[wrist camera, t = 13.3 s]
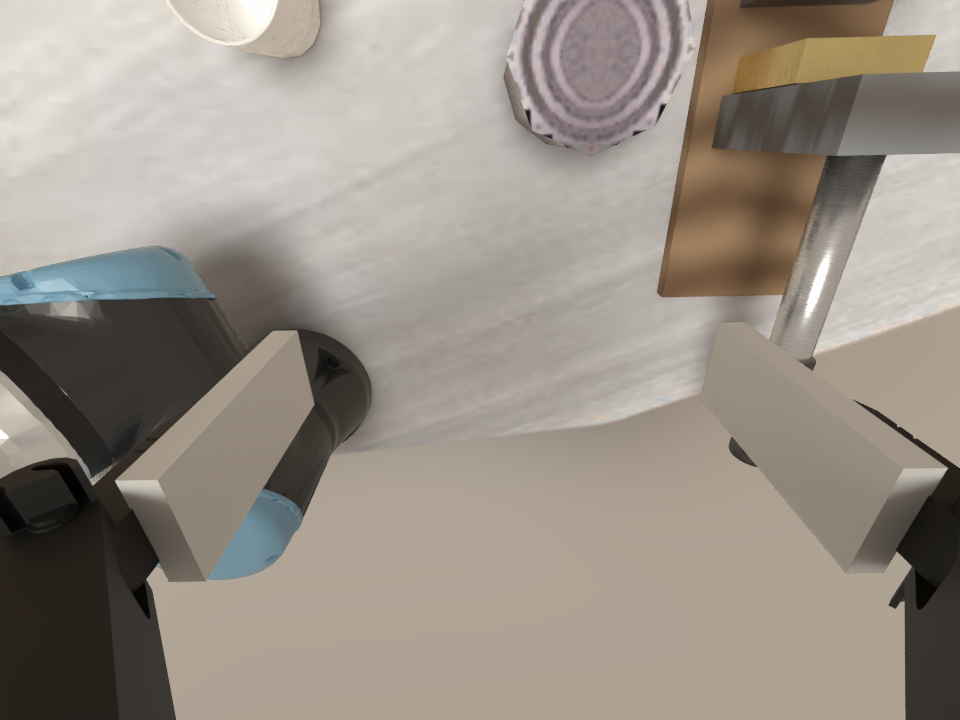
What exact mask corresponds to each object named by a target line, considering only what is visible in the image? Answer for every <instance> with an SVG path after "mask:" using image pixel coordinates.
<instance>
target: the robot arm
mask: <svg viewBox="0 0 960 720" xmlns="http://www.w3.org/2000/svg"><path fill="white" fill-rule="evenodd" d="M216 299H217V297H216V295H215V294H214V293H212V292H210V291H209V289H208V288H207V287H206V285H205V284H204V282H203V281H202V279H201V278H200V276H199V275H198V273H197V272H196V270H195V269H194V267H193V266H192V265H191V263H190V262H189V260H188V259H187V258H186V257H185V256H184V255H182V254H181V253H179V252H178V251H176V250H174V249H171V248H167V247H162V246H150V247H142V248H135V249H129V250H123V251H117V252H112V253H106V254H101V255H96V256H90V257H85V258H80V259H76V260H71V261H66V262H61V263H57V264H52V265H48V266H43V267H39V268H35V269H32V270H30V271H23V272H19V273H15V274H11V275H6V276H0V720H176V716H175V711H174V706H173V700H172V695H171V689H170V684H169V679H168V673H167V668H166V662H165V658H164V652H163V646H162V641H161V635H160V630H159V624H158V619H157V614H156V608H155V603H154V598H153V592H152V589H151V587H150V586H149V584H148V582H147V580H146V579H147V577H148V576H149V575H150V573H151V572H152V571H153V569H154V568H155V567H156V566H157V567H159V568H161V569H163V571H164V573H165V575H166V577H167V578H168V581H169V582H187V581H189V582H190V581H206V580H207V579H210V580H225V579H234V578H241V577H245V576H249V575H252V574H255V573H257V572H260V571H262V570H264V569H266V568H267V567H269V566H270V565H272V564H273V563H274V562H275V561H276V560H277V559H278V558H279V557H280V556H281V555H282V553H283V552H284V551H285V549H286V547H287V545H288V543H289V542H290V540H291V538H292V536H293V534H294V533H295V532H296V531H297V530H298V529H299V526H300V525H301V523H302V520H303V517H304V515H305V513H306V510H307V508H308V506H309V503H310V501H311V499H312V497H313V494H314V492H315V490H316V487H317V485H318V483H319V481H320V478H321V476H322V474H323V471H324V469H325V467H326V465H327V462H328V460H329V458H330V455H331V453H332V452H333V451H334V450H335V449H336V448H337V446H339V445H340V444H341V443H342V442H344V441H345V440H347V439H348V438H349V437H351V436H352V435H353V434H354V433H355V432H356V431H357V430H358V428H359V427H360V425H361V424H362V422H363V420H364V418H365V416H366V413H367V411H368V408H369V405H370V400H371V387H370V382H369V378H368V376H367V373H366V371H365V369H364V368H363V366H362V364H361V363H360V362H359V360H358V359H357V358H356V357H355V355H354V354H353V353H352V352H351V351H349V350H348V349H347V348H346V347H344V346H343V345H342V344H340V343H339V342H337V341H335V340H334V339H332V338H330V337H327V336H325V335H322V334H319V333H316V332H312V331H306V330H285V331H272V332H271V333H270V334H269V335H268V336H266V337H265V338H263V339H261V340H260V341H259V342H258V343H256V344H255V345H254V346H253V347H252V348H251V349H250V350H249V351H248V352H247V351H246V349H245V348H244V346H243V344H242V343H241V341H240V339H239V338H238V336H237V334H236V333H235V331H234V329H233V328H232V326H231V324H230V323H229V321H228V319H227V318H226V316H225V314H224V312H223V311H222V309H221V307H220V306H219V304H218V302H217V301H216ZM700 398H701V400H702V401H703V402H704V403H705V404H706V406H707V407H708V408H709V409H710V410H711V412H712V413H713V414H714V415H715V416H716V418H717V419H718V420H719V421H720V422H721V424H722V425H723V426H724V427H725V429H726V430H728V432H729V433H730V434H731V436H732V437H733V438H734V439H735V441H736V442H737V443H738V444H739V445H740V447H741V448H742V449H743V450H744V451H745V453H746V454H747V455H748V456H749V457H750V459H751V460H752V461H753V462H754V463H755V465H756V466H757V467H758V468H759V469H760V471H761V472H762V473H763V474H764V475H765V477H766V478H767V479H768V480H769V481H770V483H771V484H772V485H773V486H774V487H775V489H776V490H777V491H778V492H779V493H780V495H781V496H782V497H783V498H784V500H785V501H786V502H787V503H788V504H789V506H790V507H791V508H792V509H793V510H794V512H795V513H796V514H797V515H798V516H799V518H801V520H802V521H803V522H804V523H805V525H806V526H807V527H808V528H809V530H810V531H811V532H812V533H813V534H814V536H815V537H816V538H817V539H818V540H819V542H820V543H821V544H822V545H823V547H824V548H825V549H826V550H827V551H828V553H829V554H830V555H831V556H832V557H833V559H834V560H835V561H836V562H837V563H838V565H839V566H840V567H841V568H842V569H843V571H844V572H845V573H884V571H885V570H886V568H887V567H888V565H889V563H890V562H891V560H892V559H893V557H894V555H895V554H896V552H898V553H899V554H900V555H901V556H902V557H903V558H904V559H905V560H906V561H907V562H908V563H909V564H910V565H911V566H912V568H911V569H910V571H909V572H908V574H907V576H906V577H905V579H904V580H903V582H902V583H901V585H900V586H899V588H898V589H897V591H896V592H895V594H894V595H893V597H892V599H891V601H890V604H889V606H891V607H893V608H895V609H896V607H897V606H898V605H899V603H900V602H902V601H905V696H906V697H905V698H906V699H905V703H906V704H905V707H906V720H960V468H958V467H957V466H956V465H954V464H953V463H951V462H950V461H948V460H947V459H946V458H944V457H943V456H941V455H940V454H938V453H937V452H936V451H934V450H933V449H931V448H929V447H928V446H927V445H926V444H924V443H923V442H921V441H920V440H918V439H914V438H913V435H911V434H910V433H908V432H907V431H906V430H904V429H903V428H901V427H897V424H895V423H894V422H893V421H891V420H890V419H888V418H887V417H885V416H884V415H883V414H881V413H880V412H878V411H876V410H874V409H872V408H870V407H868V406H866V405H864V404H861V403H859V402H857V401H855V400H853V399H851V398H849V397H848V396H846V395H845V394H844V393H842V392H841V391H840V390H838V389H837V388H835V387H834V386H833V385H831V384H830V383H828V382H827V381H826V380H824V379H823V378H821V377H820V376H819V375H817V374H816V373H814V372H813V371H812V370H810V369H809V368H807V367H806V366H805V365H803V364H802V363H800V362H799V361H798V360H796V359H795V358H793V357H792V356H791V355H789V354H788V353H786V352H785V351H784V350H782V349H781V348H779V347H778V346H777V345H775V344H774V343H772V342H771V341H770V340H768V339H767V338H765V337H764V336H763V335H761V334H760V333H759V332H757V331H756V330H754V329H753V328H752V327H750V326H749V325H747V324H746V323H745V322H719V324H718V328H717V332H716V336H715V340H714V344H713V348H712V352H711V356H710V360H709V364H708V368H707V372H706V376H705V380H704V384H703V388H702V392H701V396H700ZM110 465H112V466H113V468H112V469H111V470H110V471H109V472H108V473H107V474H106V475H104V476H103V477H102V478H101V479H100V480H99V481H98V482H97V483H96V484H95V485H93V486H92V484H91V483H90V481H89V479H90V478H92V477H93V476H95V475H97V474H98V473H100V472H101V471H103V470H104V469H106V468H107V467H109V466H110Z"/></svg>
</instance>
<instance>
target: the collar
mask: <svg viewBox="0 0 960 720" xmlns="http://www.w3.org/2000/svg"><path fill="white" fill-rule="evenodd" d="M935 37H936V35H915V36H877V37H839V38H806V39H803V40H799V41H796V42H793V43H789V44H786V45H782V46H779V47H775V48H772V49H769V50H765V51H762V52H758V53H755V54H752V55H748V56H745V57H741V58H739V62H738V67H737V71H736V76H735V81H734V86H733V91H732V93H745V92H752V91H758V90H764V89H771V88H777V87H784V86H790V85H796V84H803V83H809V82H816V81H822V80H828V79H835V78H841V77H848V76H854V75H860V74H886V73H922V72H923V69H924V66H925V64H926V61H927V58H928V56H929V53H930V50H931V48H932V45H933V42H934V40H935Z"/></svg>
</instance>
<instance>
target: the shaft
mask: <svg viewBox="0 0 960 720" xmlns="http://www.w3.org/2000/svg"><path fill="white" fill-rule="evenodd" d="M885 158H886V155H851V156H831V155H827V157H826V161H825V164H824V167H823V170H822V173H821V176H820V180H819V183H818V186H817V189H816V192H815V196H814V199H813V202H812V205H811V208H810V212H809V215H808V218H807V221H806V224H805V228H804V231H803V234H802V237H801V240H800V243H799V247H798V250H797V253H796V256H795V259H794V263H793V266H792V269H791V272H790V275H789V279H788V282H787V285H786V288H785V291H784V294H783V298H782V301H781V304H780V307H779V310H778V314H777V317H776V320H775V323H774V326H773V330H772V333H771V336H770V339H769V340H770V341H771V342H772V343H774V344H775V345H777V346H778V347H779V348H781V349H782V350H784V351H785V352H786V353H788V354H789V355H791V356H792V357H793V358H795V359H796V360H798V361H799V362H800V363H802V364H803V365H805V366H806V367H807V368H809V369H810V370H812V371H813V369H814V366H815V364H816V360H815V358H814V357H812V355H813V352H814V349H815V347H816V344H817V341H818V339H819V336H820V333H821V331H822V328H823V325H824V322H825V320H826V317H827V314H828V312H829V309H830V306H831V304H832V301H833V298H834V295H835V293H836V290H837V287H838V285H839V282H840V279H841V277H842V274H843V271H844V268H845V266H846V263H847V260H848V258H849V255H850V252H851V250H852V247H853V244H854V241H855V239H856V236H857V233H858V231H859V228H860V225H861V223H862V220H863V217H864V214H865V212H866V209H867V206H868V204H869V201H870V198H871V196H872V193H873V190H874V187H875V185H876V182H877V179H878V177H879V174H880V171H881V169H882V166H883V163H884V160H885ZM729 450H730V452H731V453H732V454H733V455H734V456H735V457H736V458H737V459H739V460H740V461H742V462H744V463H746V464H749V465H751V466H755V467H757V466H756V465H755V463H754V462H753V461H752V460H751V459H750V457H749V456H748V455H747V454H746V453H745V451H744V450H743V449H742V448H741V447H740V445H739V444H738V443H737V442H736V441H735V439H734V438H733V437H731V440H730V443H729Z"/></svg>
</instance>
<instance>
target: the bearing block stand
mask: <svg viewBox="0 0 960 720" xmlns="http://www.w3.org/2000/svg"><path fill="white" fill-rule="evenodd" d="M893 1H894V0H708V3H707V8H706V14H705V20H704V26H703V31H702V37H701V43H700V49H699V54H698V60H697V66H696V72H695V77H694V83H693V89H692V95H691V101H690V106H689V112H688V118H687V124H686V129H685V135H684V141H683V147H682V152H681V158H680V164H679V170H678V175H677V181H676V187H675V193H674V199H673V204H672V210H671V216H670V222H669V227H668V233H667V239H666V245H665V250H664V256H663V262H662V268H661V273H660V279H659V285H658V291H657V293H658V294H659V295H660V296H662V297H698V296H749V295H783V294H784V291H785V288H786V285H787V282H788V279H789V275H790V272H791V269H792V266H793V263H794V259H795V256H796V253H797V250H798V247H799V243H800V240H801V237H802V234H803V231H804V228H805V224H806V221H807V218H808V215H809V212H810V208H811V205H812V202H813V199H814V196H815V192H816V189H817V186H818V183H819V180H820V176H821V173H822V170H823V167H824V164H825V161H826V157H827V155H831V156H851V155H894V154H937V153H960V72H926V73H886V74H860V75H854V76H848V77H841V78H835V79H828V80H822V81H816V82H809V83H803V84H796V85H790V86H784V87H777V88H771V89H764V90H758V91H752V92H745V93H732V91H733V86H734V81H735V76H736V71H737V67H738V62H739V58H741V57H745V56H748V55H752V54H755V53H758V52H762V51H765V50H769V49H772V48H775V47H779V46H782V45H786V44H789V43H793V42H796V41H799V40H803V39H806V38H839V37H877V36H882V35H883V32H884V29H885V26H886V23H887V20H888V17H889V14H890V11H891V8H892V4H893Z"/></svg>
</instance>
